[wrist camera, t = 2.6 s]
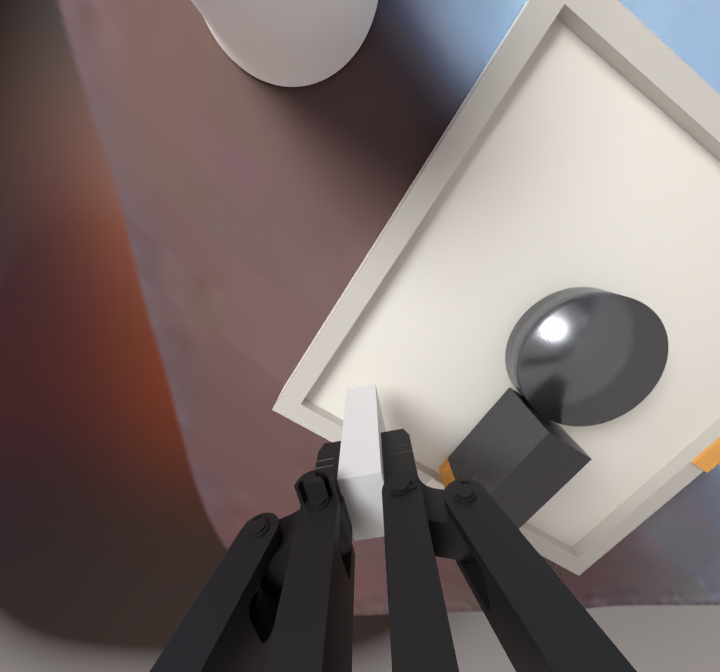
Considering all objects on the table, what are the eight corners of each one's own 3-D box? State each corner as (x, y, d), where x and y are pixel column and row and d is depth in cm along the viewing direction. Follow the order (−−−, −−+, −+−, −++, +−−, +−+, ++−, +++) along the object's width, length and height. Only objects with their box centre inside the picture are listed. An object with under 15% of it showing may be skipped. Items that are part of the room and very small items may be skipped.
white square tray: (530, -5, 16) (566, -55, 13) (849, 276, 19) (931, 286, 17) (283, 387, 22) (271, 411, 20) (557, 539, 26) (580, 578, 23)
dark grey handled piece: (567, 260, 17) (633, 272, 13) (665, 332, 18) (754, 365, 14) (409, 452, 21) (420, 509, 17) (498, 501, 22) (529, 567, 18)
